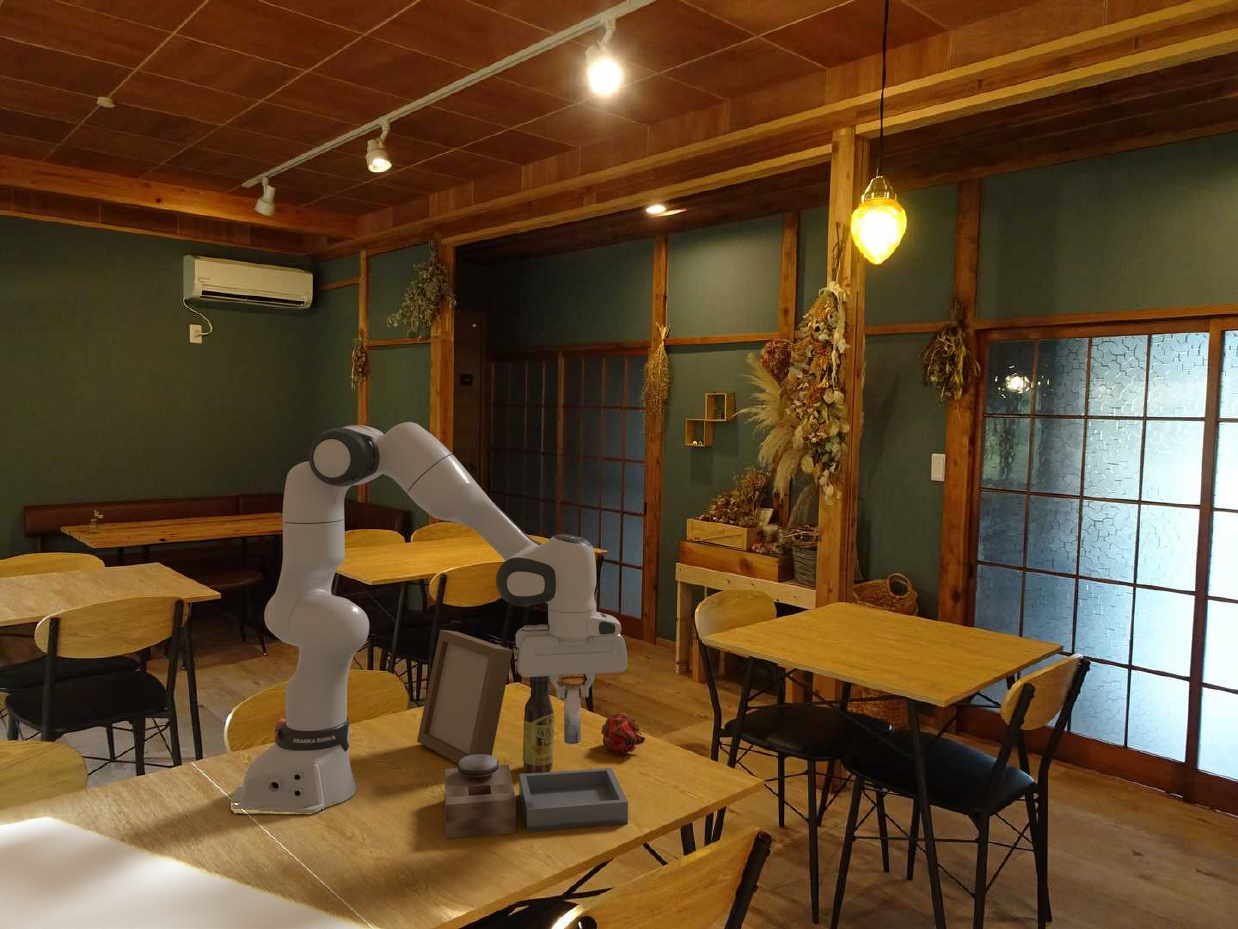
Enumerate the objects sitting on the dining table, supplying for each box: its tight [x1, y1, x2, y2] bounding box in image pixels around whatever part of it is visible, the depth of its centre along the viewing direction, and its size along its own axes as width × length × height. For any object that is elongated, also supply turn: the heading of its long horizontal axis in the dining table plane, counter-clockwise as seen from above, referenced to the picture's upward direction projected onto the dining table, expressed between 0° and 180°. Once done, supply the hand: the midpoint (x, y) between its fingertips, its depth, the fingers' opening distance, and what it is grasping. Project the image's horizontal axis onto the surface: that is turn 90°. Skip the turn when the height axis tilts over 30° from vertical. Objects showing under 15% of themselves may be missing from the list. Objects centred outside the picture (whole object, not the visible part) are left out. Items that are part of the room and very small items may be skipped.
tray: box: [518, 767, 629, 833], centre depth 168 cm, size 18×16×4 cm
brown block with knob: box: [444, 754, 517, 840], centre depth 164 cm, size 12×16×9 cm
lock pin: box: [559, 674, 585, 745], centre depth 167 cm, size 4×4×12 cm
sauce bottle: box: [522, 676, 555, 773], centre depth 186 cm, size 7×6×20 cm
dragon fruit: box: [600, 712, 646, 756], centre depth 197 cm, size 8×8×12 cm
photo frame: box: [416, 629, 514, 764], centre depth 195 cm, size 15×22×25 cm
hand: (572, 697), depth 167 cm, fingers closed on lock pin, 3 cm apart
